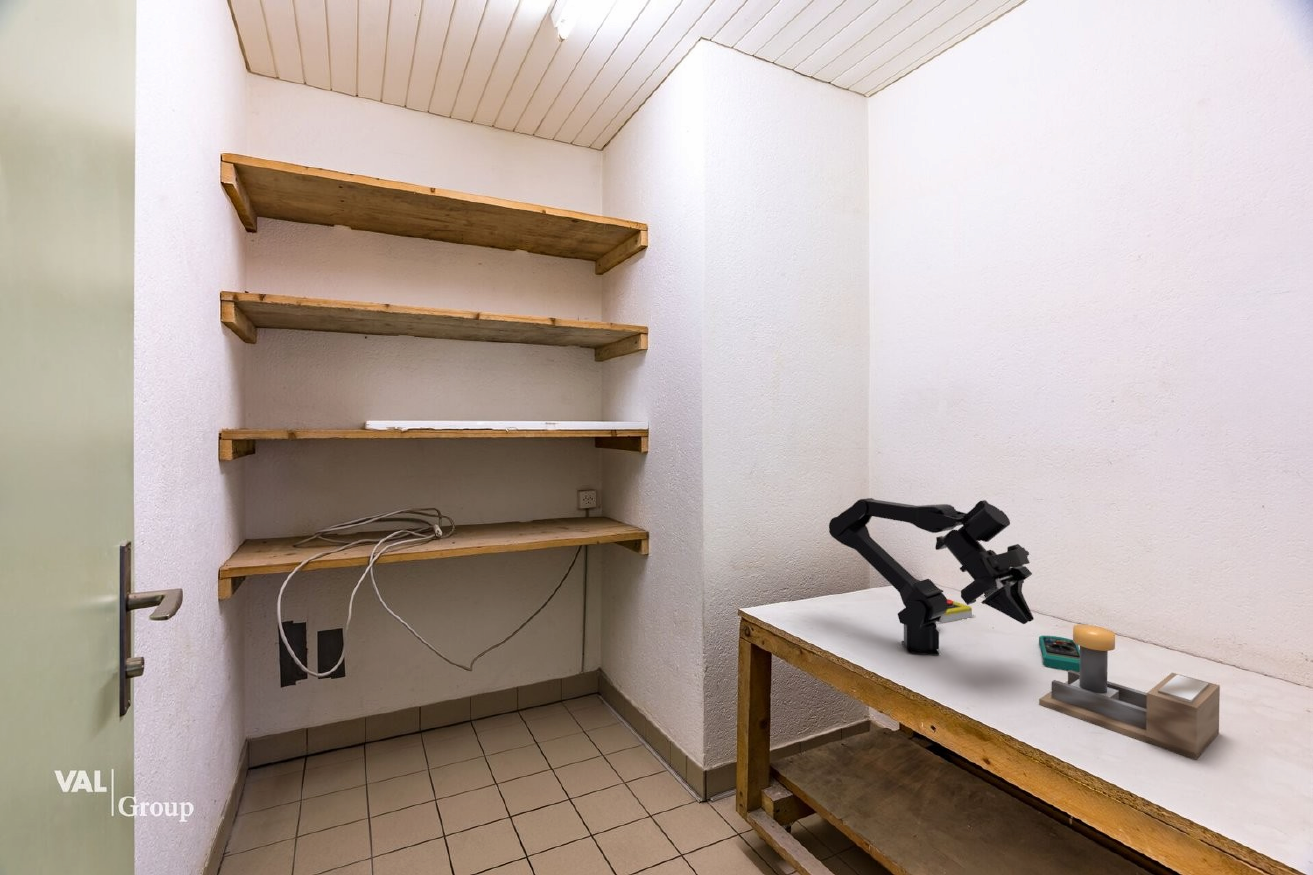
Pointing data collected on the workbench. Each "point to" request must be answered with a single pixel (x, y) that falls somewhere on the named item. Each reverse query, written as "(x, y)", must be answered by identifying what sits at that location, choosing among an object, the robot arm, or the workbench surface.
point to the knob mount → (1148, 711)
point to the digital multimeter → (1060, 653)
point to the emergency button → (956, 612)
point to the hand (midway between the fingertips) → (1028, 621)
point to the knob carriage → (1094, 658)
